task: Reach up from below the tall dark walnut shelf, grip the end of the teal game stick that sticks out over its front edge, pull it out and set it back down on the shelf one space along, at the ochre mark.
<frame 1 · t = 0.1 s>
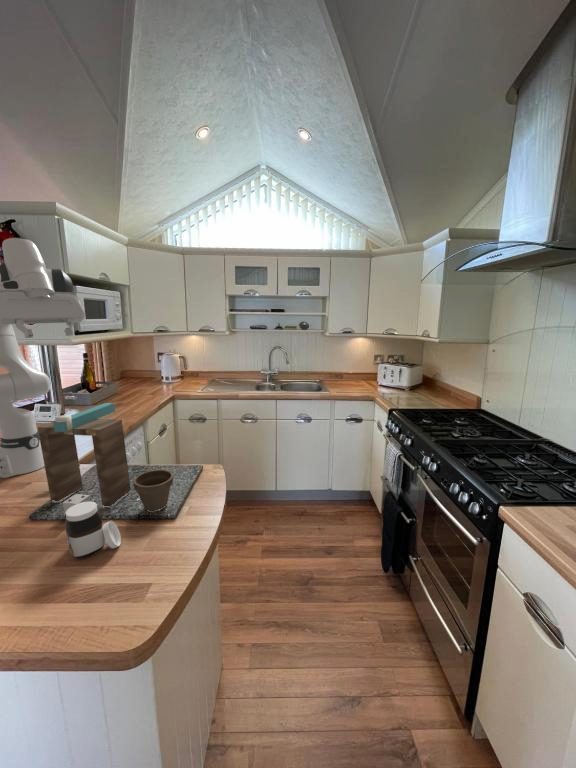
hand: (50, 335, 91), 54 cm above the countertop, tool tilted 30°, fingers open, 8 cm apart
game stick: (87, 420, 110), point 26 cm above the countertop, touching walnut shelf
spread jar: (96, 548, 88), on the countertop
ivory die: (79, 513, 103), on the countertop
grandmother figurine: (70, 481, 124), on the countertop
flower pot: (156, 507, 106), on the countertop
walnut shelf: (92, 497, 112), on the countertop
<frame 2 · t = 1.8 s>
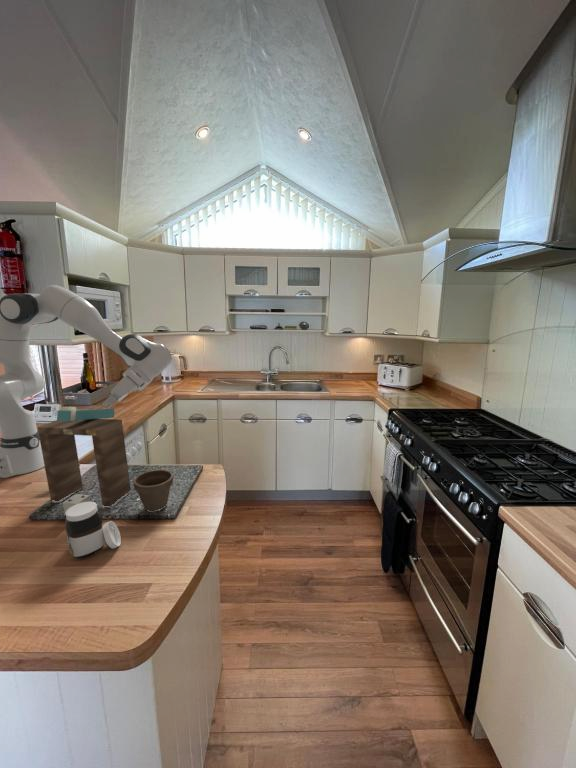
hand: (104, 406, 117), 28 cm above the countertop, tool tilted 55°, fingers open, 8 cm apart
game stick: (88, 418, 110), point 26 cm above the countertop, tilted 15°, touching walnut shelf
everything else where it was.
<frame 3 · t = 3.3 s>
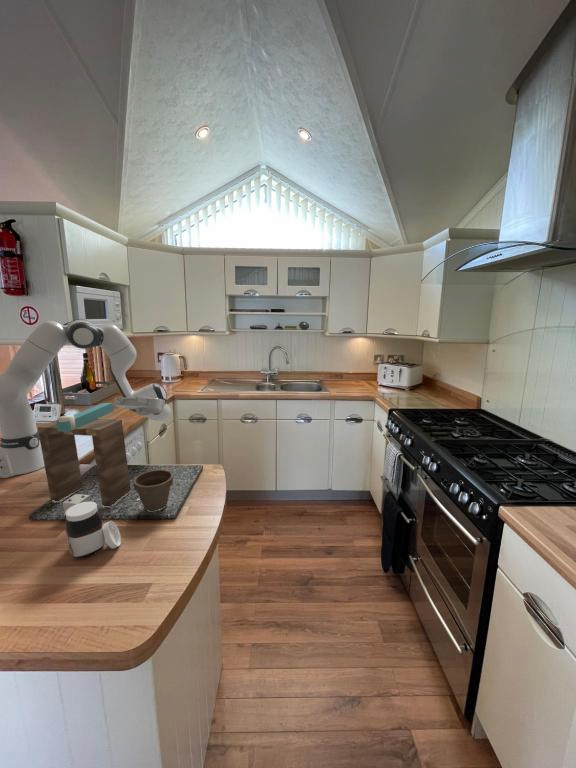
hand: (126, 398, 136), 27 cm above the countertop, tool pointing upward, fingers open, 8 cm apart
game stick: (88, 420, 110), point 26 cm above the countertop, touching walnut shelf
everything else where it was.
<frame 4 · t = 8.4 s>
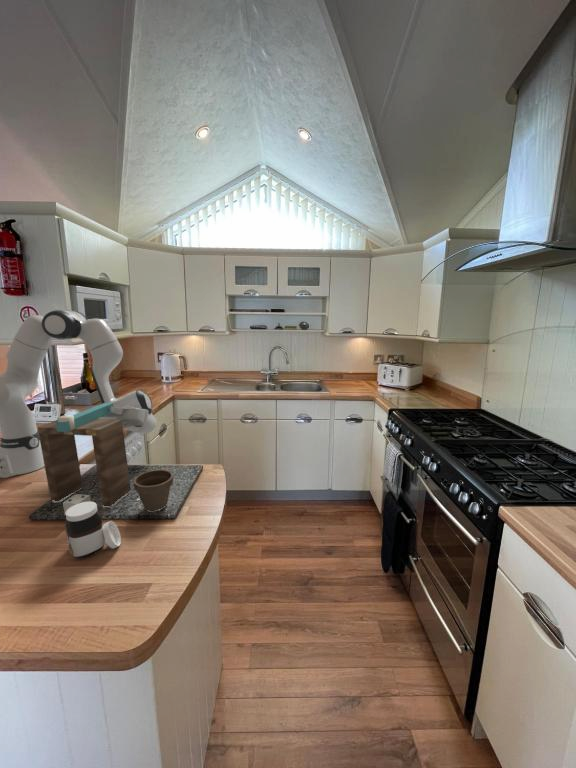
hand: (102, 408, 117), 28 cm above the countertop, tool pointing upward
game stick: (88, 420, 110), point 26 cm above the countertop, touching gripper
everything else where it was.
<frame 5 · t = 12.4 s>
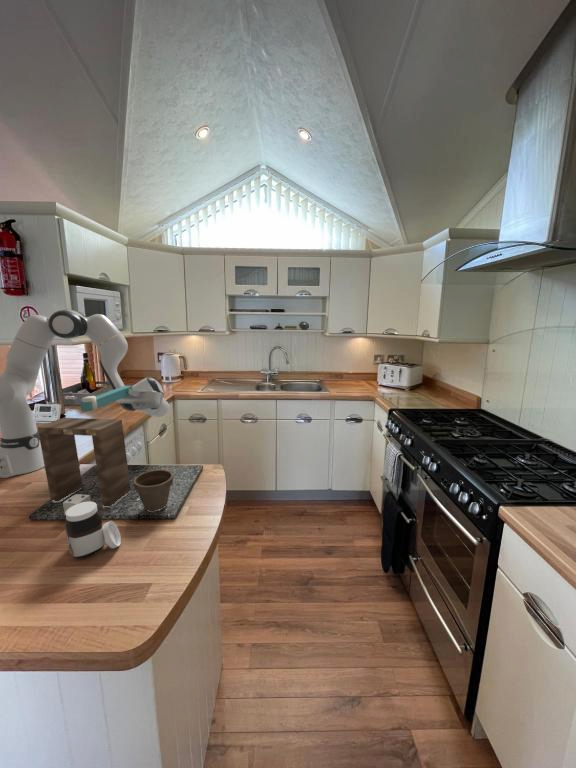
hand: (122, 390, 125), 32 cm above the countertop, tool pointing upward, fingers closed on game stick, 3 cm apart
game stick: (109, 401, 119), point 30 cm above the countertop, touching gripper
everything else where it was.
when the fingers open (29 cm above the countertop, at t = 16.2 s): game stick stays where it is, resting on walnut shelf.
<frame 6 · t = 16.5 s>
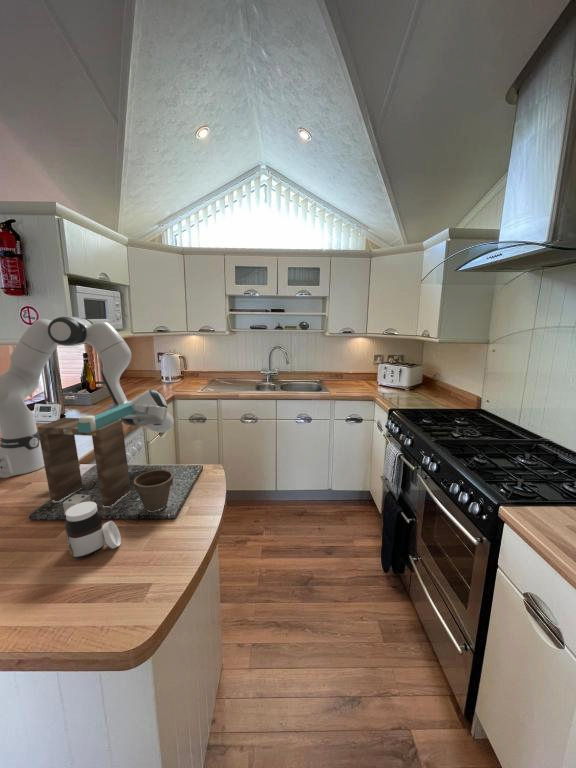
hand: (122, 406, 115), 29 cm above the countertop, tool pointing upward, fingers open, 7 cm apart
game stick: (109, 421, 109), point 26 cm above the countertop, touching walnut shelf
everything else where it was.
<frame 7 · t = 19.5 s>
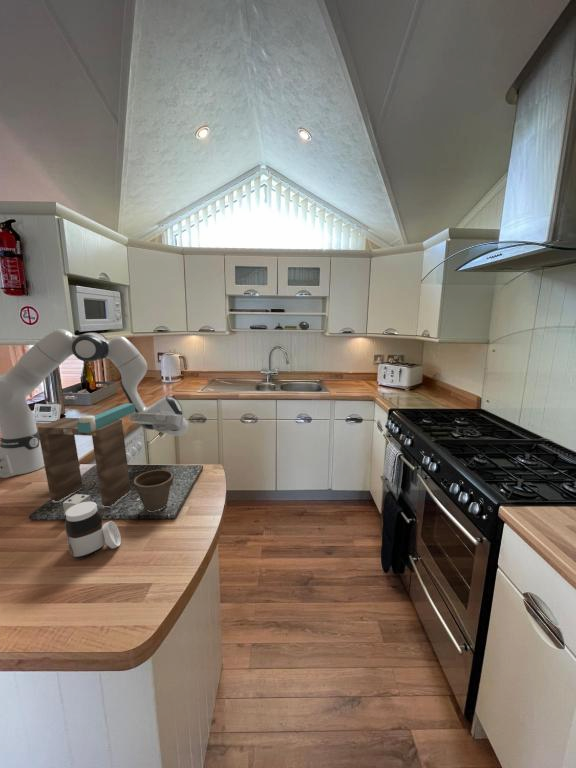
hand: (144, 415, 128), 22 cm above the countertop, tool pointing upward, fingers open, 8 cm apart
nothing on the countertop moved.
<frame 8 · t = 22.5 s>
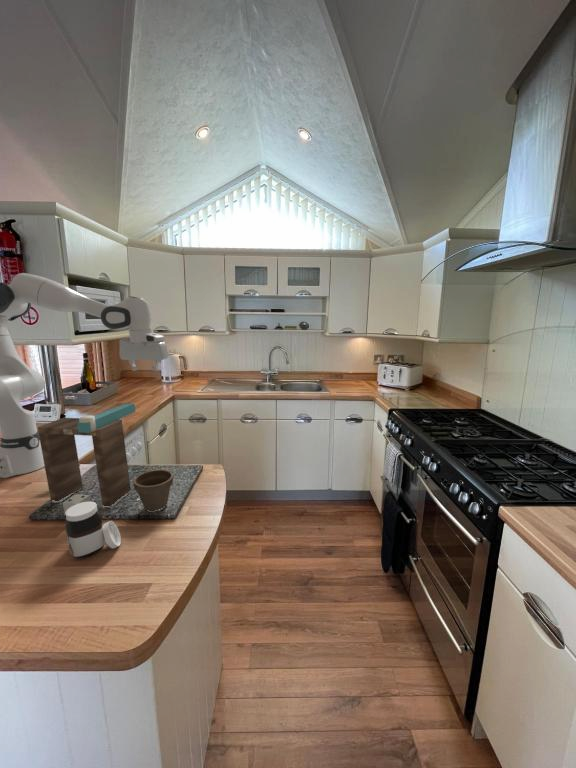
hand: (145, 370, 141), 37 cm above the countertop, tool pointing down, fingers open, 8 cm apart
nothing on the countertop moved.
at the end: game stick 0.2 cm from the target spot, point 26.0 cm above the countertop; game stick tilted 0°; the gripper is holding nothing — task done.
